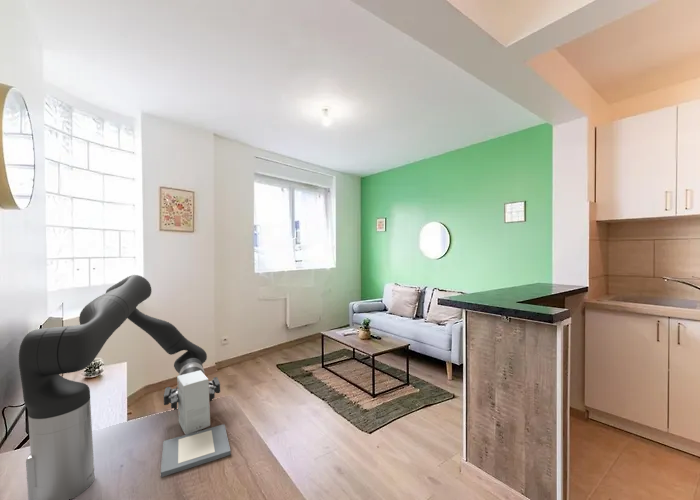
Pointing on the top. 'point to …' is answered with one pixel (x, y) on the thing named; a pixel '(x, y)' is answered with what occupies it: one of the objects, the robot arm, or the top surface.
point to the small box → (193, 401)
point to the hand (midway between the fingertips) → (193, 401)
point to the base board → (194, 449)
